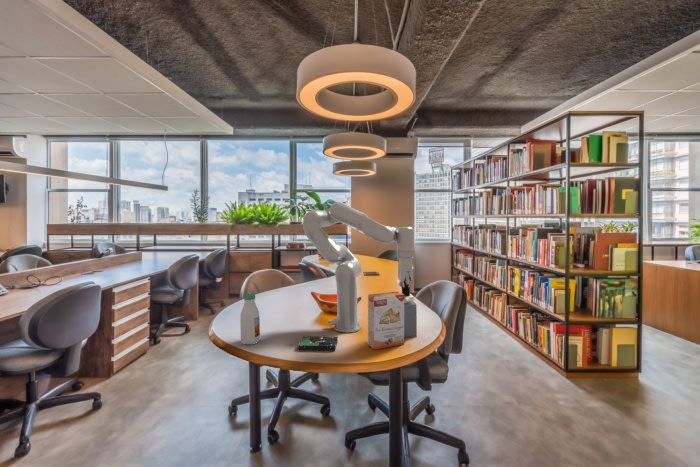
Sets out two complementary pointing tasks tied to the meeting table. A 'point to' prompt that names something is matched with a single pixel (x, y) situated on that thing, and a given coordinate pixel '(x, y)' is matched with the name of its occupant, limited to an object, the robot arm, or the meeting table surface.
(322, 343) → the disk drive
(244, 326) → the milk bottle
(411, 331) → the block
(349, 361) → the meeting table surface
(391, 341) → the cracker box
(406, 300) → the pump head
